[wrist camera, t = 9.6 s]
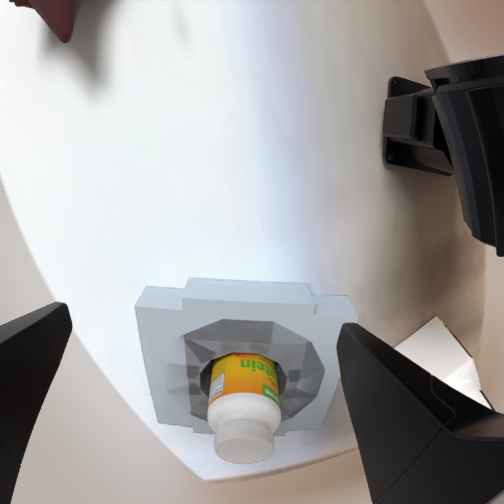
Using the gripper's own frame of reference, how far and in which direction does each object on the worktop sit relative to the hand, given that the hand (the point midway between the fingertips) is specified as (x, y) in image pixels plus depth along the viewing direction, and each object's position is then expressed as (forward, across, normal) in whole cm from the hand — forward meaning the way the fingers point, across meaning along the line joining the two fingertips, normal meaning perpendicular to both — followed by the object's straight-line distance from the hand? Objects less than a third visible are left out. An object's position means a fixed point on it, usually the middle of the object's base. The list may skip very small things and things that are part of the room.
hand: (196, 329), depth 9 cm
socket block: (+13, -2, +13) cm, 18 cm away
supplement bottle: (+13, -2, +13) cm, 19 cm away
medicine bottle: (+13, -20, +13) cm, 27 cm away
